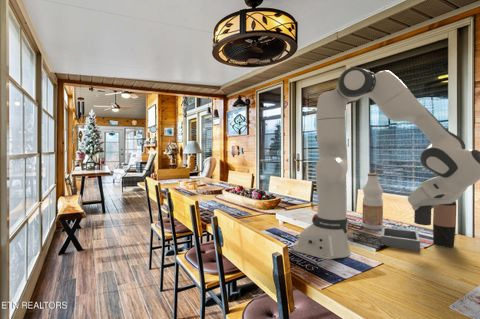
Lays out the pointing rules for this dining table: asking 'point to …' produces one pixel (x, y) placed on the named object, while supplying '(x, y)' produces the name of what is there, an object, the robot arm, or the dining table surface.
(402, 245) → the open square box
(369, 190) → the fruit juice
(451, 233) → the travel mug
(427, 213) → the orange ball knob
